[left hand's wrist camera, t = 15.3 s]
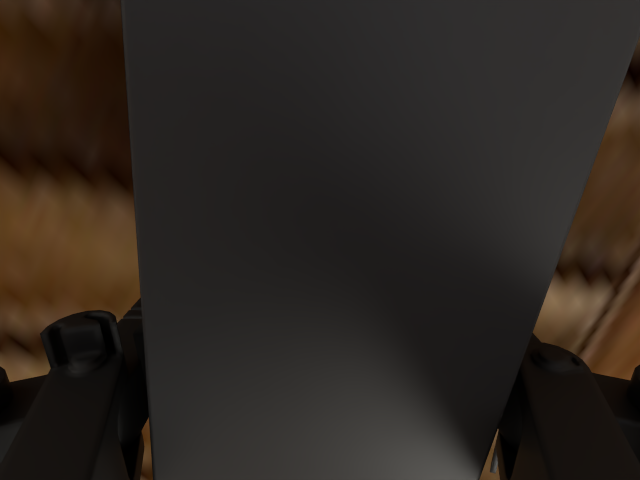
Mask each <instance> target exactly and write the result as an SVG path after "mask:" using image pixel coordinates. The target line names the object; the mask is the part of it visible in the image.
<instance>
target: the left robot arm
mask: <svg viewBox="0 0 640 480" xmlns="http://www.w3.org/2000/svg"><path fill="white" fill-rule="evenodd" d="M40 335H41V339H42V342H43V345H44V348H45V351H46V354H47V357H48V361H49V364H50V367H51V369H50V371H49V373H48V374H47V375H43V376H39V377H34V378H29V379H24V380H19V381H14V382H9V379H8V377H7V374H6V371H5V369H3V368H2V367H0V480H140V476H141V469H142V461H143V454H144V441H143V436H142V431H141V430H142V429H143V427H144V425H145V423H146V421H147V419H148V417H149V410H148V396H147V381H146V366H145V352H144V337H143V322H142V308H141V298H140V299H139V300H138V301H137V302H136V303H135V304H134V305H133V307H132V308H131V310H129V311H128V312H127V313H126V314H125V315H124V316H123V319H121V320H120V321H119V322H118V323H117V321H116V317H115V315H113V314H112V313H111V312H107V311H102V310H95V311H85V312H80V313H76V314H72V315H70V316H67V317H64V318H62V319H59V320H57V321H56V322H54V323H52V324H51V325H49V326H47V327H46V328H45V329H44V330H43V331H42V332H41V333H40ZM498 429H499V431H498V436H497V440H496V444H495V449H494V453H493V458H492V462H491V468H490V472H492V473H496V469H497V465H498V468H499V475H500V480H640V365H639V366H637V367H636V368H635V370H634V372H633V375H632V378H631V381H630V380H625V379H620V378H615V377H610V376H605V375H600V374H595V373H592V372H591V371H590V369H589V367H588V366H587V365H586V364H585V363H584V361H583V360H582V359H580V358H579V357H578V356H576V355H575V354H573V353H572V352H570V351H568V350H565V349H563V348H561V347H559V346H555V345H551V344H547V343H541V341H540V340H539V339H538V338H537V337H536V336H535V335H534V334H533V333H532V335H531V338H530V341H529V343H528V346H527V349H526V352H525V354H524V357H523V360H522V363H521V365H520V368H519V371H518V374H517V376H516V379H515V382H514V385H513V388H512V390H511V393H510V396H509V399H508V401H507V404H506V407H505V410H504V412H503V415H502V418H501V421H500V423H499V426H498Z"/></svg>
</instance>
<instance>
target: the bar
mask: <svg viewBox="0 0 640 480" xmlns="http://www.w3.org/2000/svg"><path fill="white" fill-rule="evenodd" d="M121 15H122V29H123V44H124V58H125V73H126V88H127V102H128V117H129V132H130V146H131V161H132V176H133V190H134V205H135V220H136V234H137V249H138V264H139V278H140V293H141V308H142V322H143V337H144V352H145V366H146V381H147V396H148V410H149V425H150V440H151V454H152V469H153V480H479V479H480V476H481V473H482V470H483V468H484V465H485V462H486V459H487V457H488V454H489V451H490V448H491V446H492V443H493V440H494V437H495V435H496V432H497V429H498V426H499V423H500V421H501V418H502V415H503V412H504V410H505V407H506V404H507V401H508V399H509V396H510V393H511V390H512V388H513V385H514V382H515V379H516V376H517V374H518V371H519V368H520V365H521V363H522V360H523V357H524V354H525V352H526V349H527V346H528V343H529V341H530V338H531V335H532V332H533V329H534V327H535V324H536V321H537V318H538V316H539V313H540V310H541V307H542V305H543V302H544V299H545V296H546V294H547V291H548V288H549V285H550V282H551V280H552V277H553V274H554V271H555V269H556V266H557V263H558V260H559V258H560V255H561V252H562V249H563V247H564V244H565V241H566V238H567V235H568V233H569V230H570V227H571V224H572V222H573V219H574V216H575V213H576V211H577V208H578V205H579V202H580V200H581V197H582V194H583V191H584V189H585V186H586V183H587V180H588V177H589V175H590V172H591V169H592V166H593V164H594V161H595V158H596V155H597V153H598V150H599V147H600V144H601V142H602V139H603V136H604V133H605V130H606V128H607V125H608V122H609V119H610V117H611V114H612V111H613V108H614V106H615V103H616V100H617V97H618V95H619V92H620V89H621V86H622V83H623V81H624V78H625V75H626V72H627V70H628V67H629V64H630V61H631V59H632V56H633V53H634V50H635V48H636V45H637V42H638V39H639V36H640V0H121Z"/></svg>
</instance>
